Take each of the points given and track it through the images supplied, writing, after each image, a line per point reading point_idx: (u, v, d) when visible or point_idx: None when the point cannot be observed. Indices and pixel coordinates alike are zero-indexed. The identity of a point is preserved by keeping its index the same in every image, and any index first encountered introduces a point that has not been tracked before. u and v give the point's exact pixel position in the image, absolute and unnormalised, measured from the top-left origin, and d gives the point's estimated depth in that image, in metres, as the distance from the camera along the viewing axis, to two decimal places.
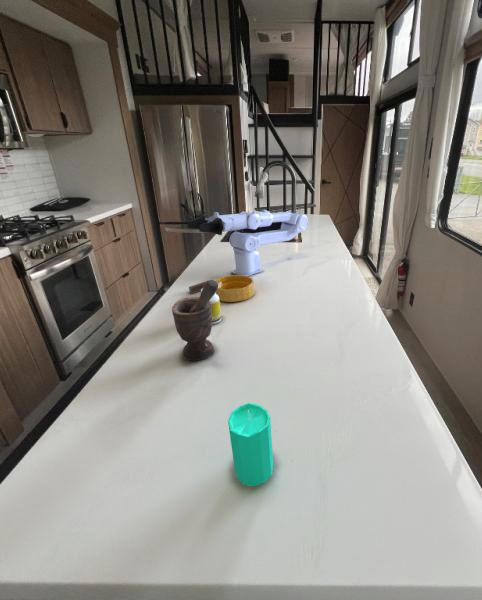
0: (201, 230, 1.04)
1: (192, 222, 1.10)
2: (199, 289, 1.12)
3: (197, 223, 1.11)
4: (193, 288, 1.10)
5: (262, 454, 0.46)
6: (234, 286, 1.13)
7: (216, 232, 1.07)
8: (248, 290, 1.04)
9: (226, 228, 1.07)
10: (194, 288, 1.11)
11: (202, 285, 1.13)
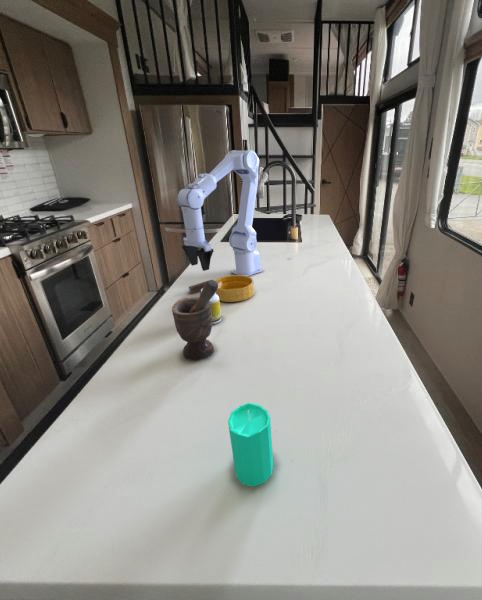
0: (208, 268, 1.08)
1: (192, 261, 1.12)
2: (199, 289, 1.12)
3: (192, 255, 1.11)
4: (193, 288, 1.10)
5: (262, 454, 0.46)
6: (234, 286, 1.13)
7: (210, 255, 1.06)
8: (248, 290, 1.04)
9: (209, 248, 1.03)
10: (194, 288, 1.11)
11: (202, 285, 1.13)
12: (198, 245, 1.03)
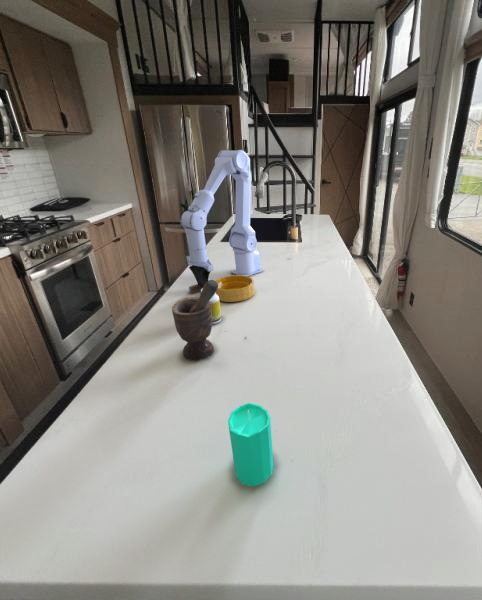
0: None
1: (199, 281, 1.13)
2: (199, 289, 1.12)
3: None
4: (193, 288, 1.10)
5: (262, 454, 0.46)
6: (234, 286, 1.13)
7: (209, 272, 1.11)
8: (248, 290, 1.04)
9: (211, 268, 1.06)
10: (194, 288, 1.11)
11: None
12: (201, 265, 1.06)
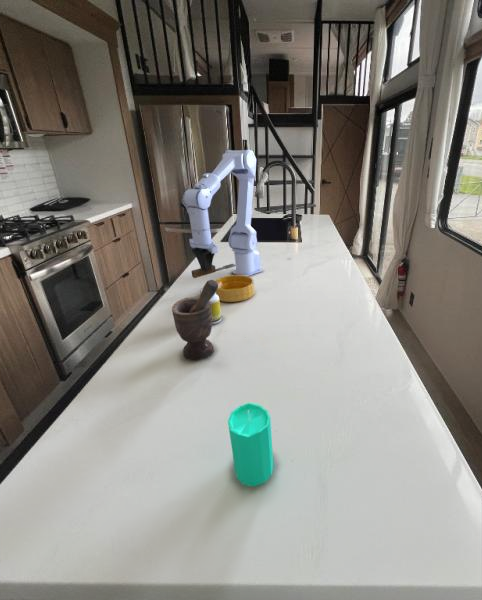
0: (210, 269, 1.07)
1: (202, 265, 1.07)
2: (202, 273, 1.06)
3: None
4: (196, 272, 1.04)
5: (262, 454, 0.46)
6: (234, 286, 1.13)
7: (213, 255, 1.05)
8: (248, 290, 1.04)
9: (216, 250, 1.00)
10: (197, 272, 1.05)
11: None
12: (205, 247, 1.00)
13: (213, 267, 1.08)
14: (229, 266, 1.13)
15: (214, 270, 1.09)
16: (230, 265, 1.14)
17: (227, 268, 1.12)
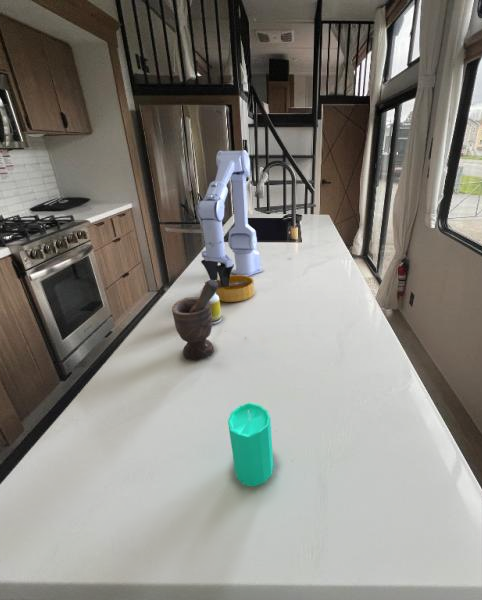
0: (227, 284, 1.01)
1: (211, 276, 1.04)
2: None
3: (212, 270, 1.04)
4: None
5: (262, 454, 0.46)
6: (234, 286, 1.13)
7: (230, 270, 0.99)
8: (248, 290, 1.04)
9: (230, 264, 0.96)
10: None
11: (219, 282, 1.03)
12: (219, 260, 0.96)
13: None
14: (242, 283, 1.09)
15: (228, 285, 1.05)
16: (243, 282, 1.10)
17: (240, 284, 1.09)
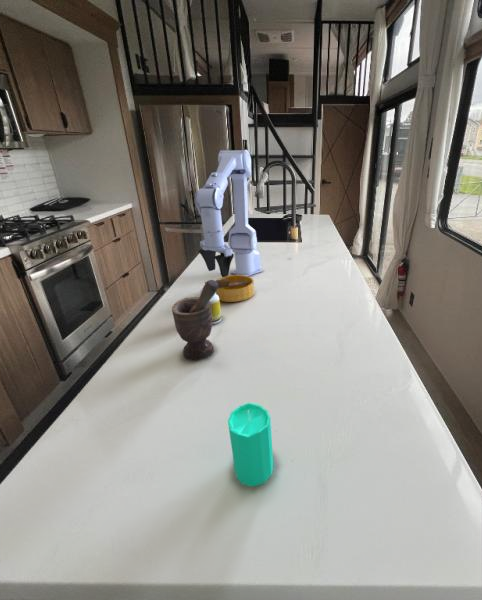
0: (227, 274, 1.00)
1: (209, 266, 1.04)
2: None
3: (210, 260, 1.03)
4: None
5: (262, 454, 0.46)
6: (234, 286, 1.13)
7: (230, 260, 0.98)
8: (248, 290, 1.04)
9: (229, 253, 0.94)
10: None
11: (219, 282, 1.03)
12: (217, 250, 0.95)
13: (227, 281, 1.05)
14: (242, 283, 1.09)
15: (228, 285, 1.05)
16: (243, 282, 1.10)
17: (240, 284, 1.09)
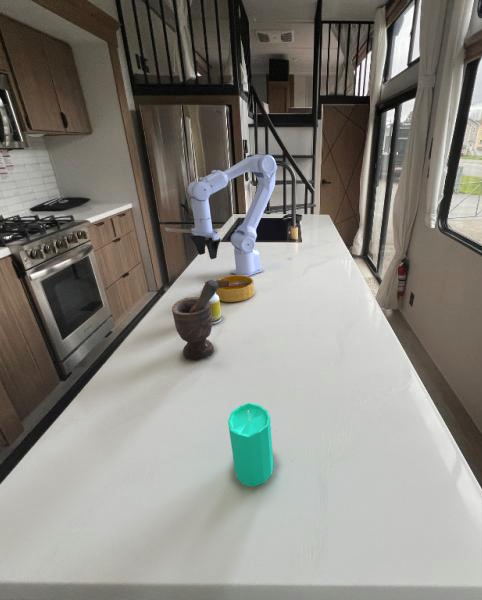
0: (215, 257, 1.15)
1: (200, 250, 1.18)
2: None
3: (200, 245, 1.18)
4: None
5: (262, 454, 0.46)
6: (234, 286, 1.13)
7: (218, 244, 1.12)
8: (248, 290, 1.04)
9: (216, 238, 1.09)
10: None
11: (219, 282, 1.03)
12: (206, 235, 1.10)
13: (227, 281, 1.05)
14: (242, 283, 1.09)
15: (228, 285, 1.05)
16: (243, 282, 1.10)
17: (240, 284, 1.09)
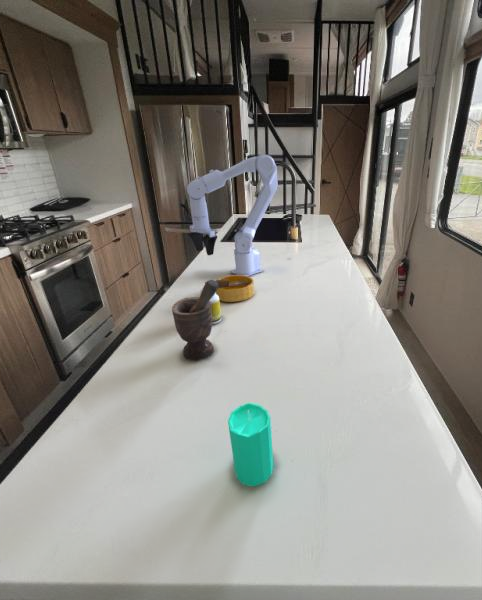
0: (212, 253, 1.19)
1: (197, 247, 1.23)
2: None
3: (198, 242, 1.22)
4: None
5: (262, 454, 0.46)
6: (234, 286, 1.13)
7: (214, 240, 1.17)
8: (248, 290, 1.04)
9: (213, 234, 1.14)
10: None
11: (219, 282, 1.03)
12: (203, 231, 1.14)
13: (227, 281, 1.05)
14: (242, 283, 1.09)
15: (228, 285, 1.05)
16: (243, 282, 1.10)
17: (240, 284, 1.09)
